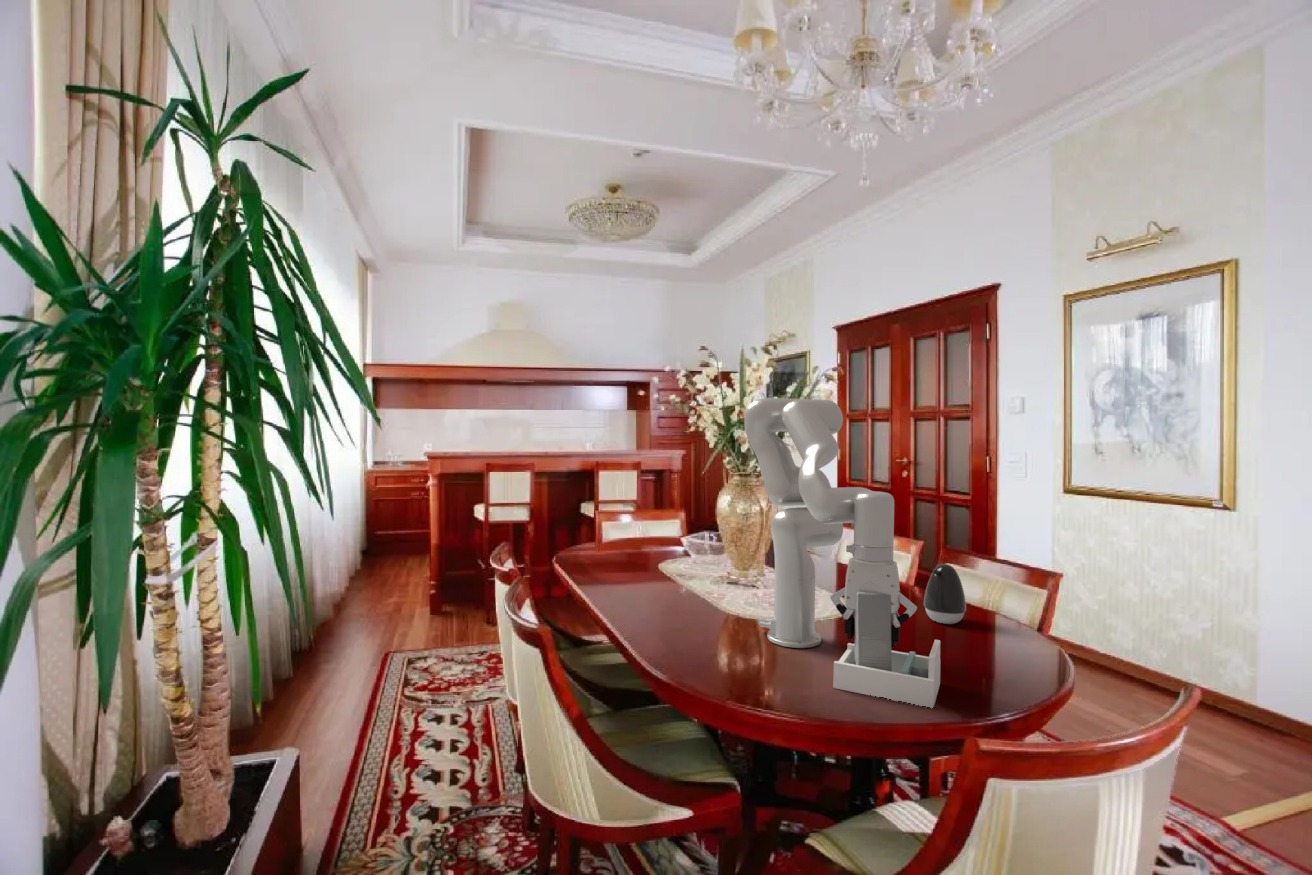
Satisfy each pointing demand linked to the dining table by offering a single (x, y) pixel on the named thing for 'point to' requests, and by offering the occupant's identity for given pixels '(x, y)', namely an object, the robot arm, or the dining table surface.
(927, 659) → the open box with divider
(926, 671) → the pusher
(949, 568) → the dark grey egg shape
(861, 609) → the skincare box
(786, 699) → the dining table surface
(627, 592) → the dining table surface
